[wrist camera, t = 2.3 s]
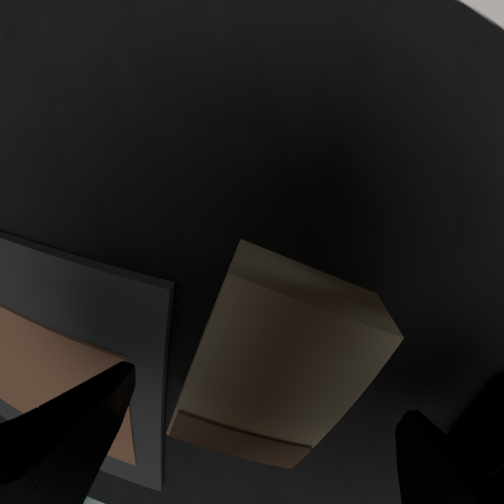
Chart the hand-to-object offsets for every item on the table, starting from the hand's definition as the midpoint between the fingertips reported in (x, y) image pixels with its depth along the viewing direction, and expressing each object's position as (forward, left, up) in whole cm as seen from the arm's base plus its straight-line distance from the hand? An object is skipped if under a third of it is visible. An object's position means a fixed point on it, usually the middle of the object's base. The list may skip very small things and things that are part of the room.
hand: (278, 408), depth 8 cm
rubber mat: (+11, +6, -3) cm, 13 cm away
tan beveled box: (0, 0, -3) cm, 3 cm away
